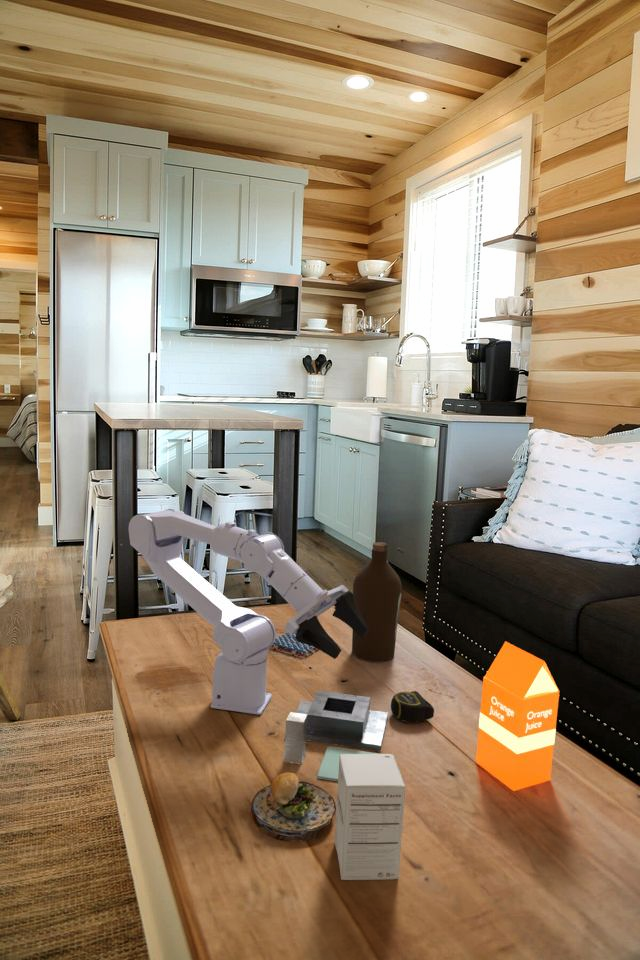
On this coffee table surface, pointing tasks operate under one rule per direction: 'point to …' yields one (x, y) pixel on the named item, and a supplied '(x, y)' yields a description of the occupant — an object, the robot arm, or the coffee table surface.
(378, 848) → the supplement box
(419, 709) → the tape measure
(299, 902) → the coffee table surface
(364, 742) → the plate
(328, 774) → the mat
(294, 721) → the light grey rectangular block
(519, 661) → the orange juice
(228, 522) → the robot arm
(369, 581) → the olive oil
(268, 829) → the burger
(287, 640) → the woven mat
